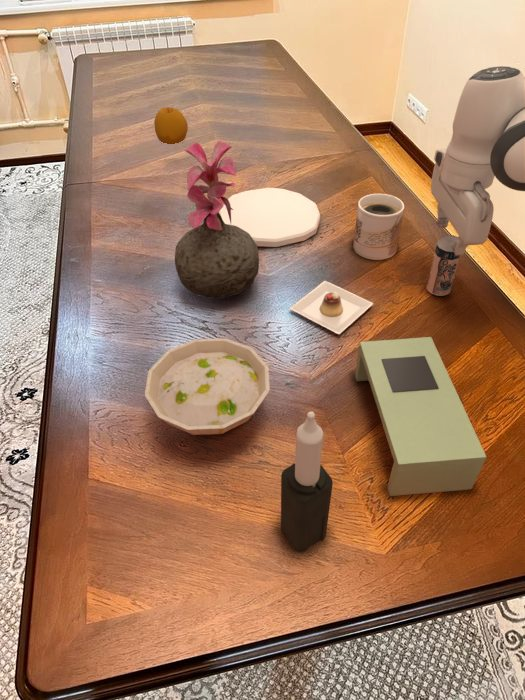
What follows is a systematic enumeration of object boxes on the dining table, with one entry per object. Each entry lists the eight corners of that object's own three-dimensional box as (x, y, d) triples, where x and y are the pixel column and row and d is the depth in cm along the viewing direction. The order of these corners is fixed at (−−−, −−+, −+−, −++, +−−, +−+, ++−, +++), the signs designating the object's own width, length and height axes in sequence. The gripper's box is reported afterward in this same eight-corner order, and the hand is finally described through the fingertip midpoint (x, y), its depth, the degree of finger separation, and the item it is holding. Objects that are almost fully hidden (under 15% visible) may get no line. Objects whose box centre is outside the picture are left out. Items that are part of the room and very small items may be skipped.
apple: (193, 141, 167) (189, 102, 159) (183, 154, 161) (178, 114, 152) (164, 139, 169) (158, 100, 161) (152, 152, 162) (146, 112, 154)
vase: (181, 318, 106) (158, 174, 85) (177, 267, 118) (156, 131, 98) (265, 308, 108) (262, 164, 87) (252, 259, 120) (248, 124, 99)
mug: (344, 253, 121) (348, 209, 114) (360, 227, 129) (366, 184, 121) (389, 264, 118) (397, 219, 110) (403, 237, 126) (412, 193, 118)
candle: (298, 555, 71) (305, 440, 53) (277, 525, 74) (277, 407, 57) (329, 535, 73) (345, 418, 55) (307, 507, 76) (316, 387, 58)
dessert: (288, 312, 107) (289, 293, 103) (324, 284, 113) (326, 265, 110) (338, 338, 101) (340, 319, 97) (373, 307, 107) (376, 288, 104)
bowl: (282, 383, 93) (282, 341, 86) (256, 477, 79) (254, 436, 72) (176, 367, 96) (169, 325, 89) (134, 454, 83) (121, 413, 76)
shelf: (422, 370, 95) (431, 335, 89) (471, 489, 77) (487, 456, 72) (354, 375, 94) (359, 340, 88) (389, 496, 77) (398, 463, 71)
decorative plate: (337, 220, 123) (233, 240, 118) (336, 236, 126) (234, 256, 121) (298, 174, 141) (206, 190, 136) (298, 189, 144) (208, 205, 138)
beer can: (435, 300, 109) (448, 249, 100) (421, 287, 112) (433, 237, 103) (454, 293, 110) (469, 243, 102) (440, 281, 113) (453, 231, 105)
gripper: (511, 198, 86) (486, 269, 95) (465, 145, 100) (448, 211, 110) (472, 200, 85) (451, 271, 95) (432, 146, 100) (417, 213, 110)
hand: (449, 239), depth 102 cm, fingers open, 8 cm apart
